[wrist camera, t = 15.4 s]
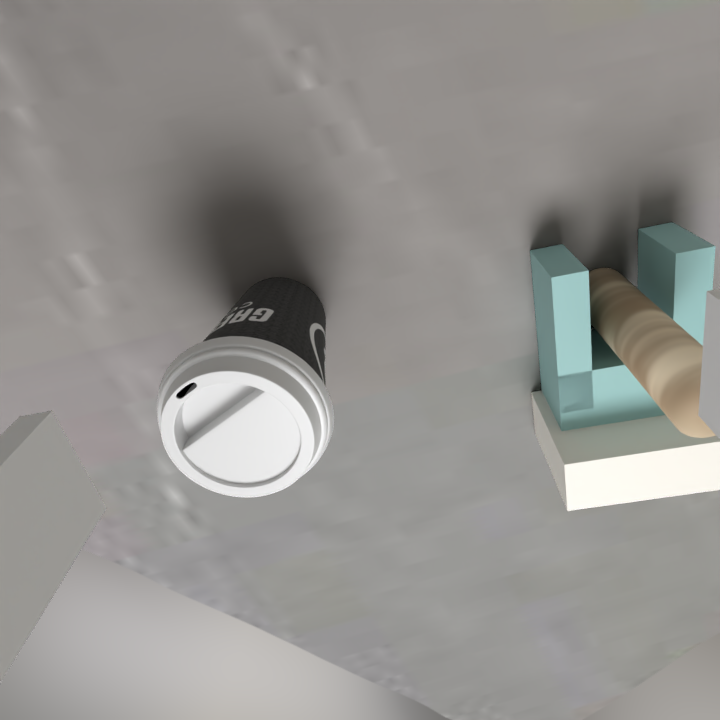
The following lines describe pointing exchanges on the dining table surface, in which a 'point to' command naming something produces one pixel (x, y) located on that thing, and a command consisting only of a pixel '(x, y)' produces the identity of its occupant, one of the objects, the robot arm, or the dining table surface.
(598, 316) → the dowel
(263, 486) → the coffee cup
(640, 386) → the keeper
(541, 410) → the wall
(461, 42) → the dining table surface
